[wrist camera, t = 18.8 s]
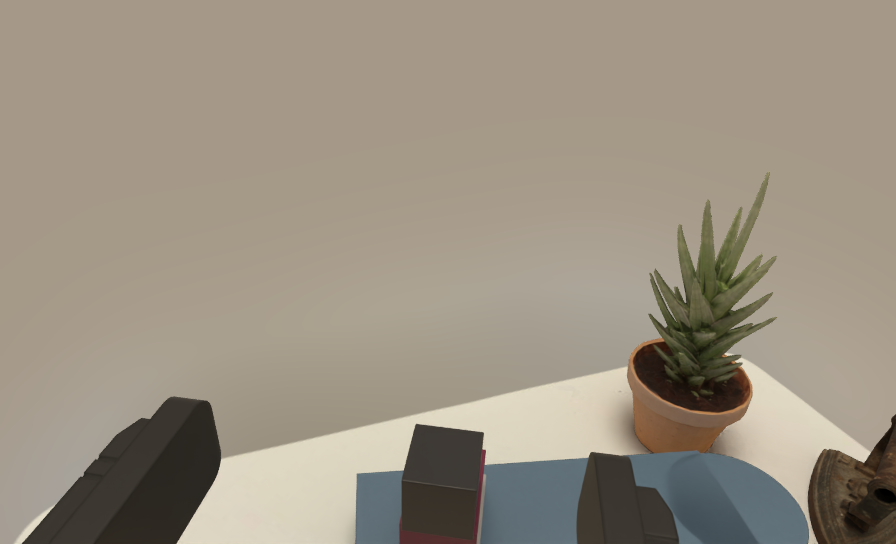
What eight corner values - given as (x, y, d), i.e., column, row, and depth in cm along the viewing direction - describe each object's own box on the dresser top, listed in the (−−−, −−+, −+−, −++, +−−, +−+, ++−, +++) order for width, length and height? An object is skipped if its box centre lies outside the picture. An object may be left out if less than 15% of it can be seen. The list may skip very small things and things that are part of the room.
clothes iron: (917, 501, 46) (991, 434, 39) (873, 618, 40) (951, 564, 33) (823, 448, 50) (875, 379, 43) (770, 548, 44) (822, 487, 37)
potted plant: (634, 481, 46) (717, 192, 34) (601, 400, 54) (658, 145, 42) (755, 479, 47) (877, 195, 35) (703, 400, 55) (788, 148, 43)
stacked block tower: (474, 597, 32) (485, 492, 28) (394, 584, 33) (393, 479, 28) (486, 474, 40) (496, 376, 36) (421, 465, 40) (423, 368, 36)
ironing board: (357, 661, 34) (353, 612, 31) (359, 521, 42) (356, 473, 39) (816, 611, 37) (845, 563, 35) (735, 491, 45) (754, 446, 43)
